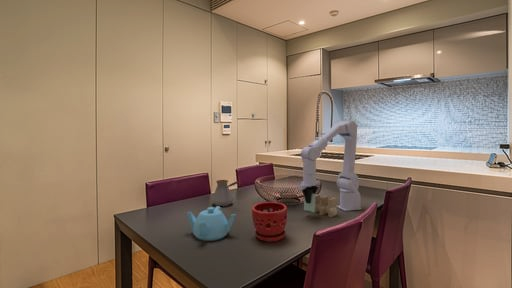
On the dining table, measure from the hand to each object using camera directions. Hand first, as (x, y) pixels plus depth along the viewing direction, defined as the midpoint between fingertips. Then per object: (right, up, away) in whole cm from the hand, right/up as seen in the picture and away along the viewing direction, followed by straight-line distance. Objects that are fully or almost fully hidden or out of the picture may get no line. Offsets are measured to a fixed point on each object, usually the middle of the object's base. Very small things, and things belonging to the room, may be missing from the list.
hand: (309, 202), depth 130 cm
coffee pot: (-39, -6, +18) cm, 44 cm away
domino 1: (+5, -6, +8) cm, 11 cm away
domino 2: (+8, -6, +5) cm, 11 cm away
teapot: (-42, -9, -20) cm, 47 cm away
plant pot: (-19, -9, -23) cm, 31 cm away
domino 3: (+11, -6, +2) cm, 13 cm away
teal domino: (0, -4, 0) cm, 4 cm away
